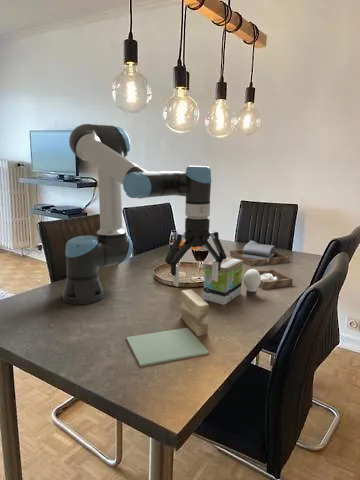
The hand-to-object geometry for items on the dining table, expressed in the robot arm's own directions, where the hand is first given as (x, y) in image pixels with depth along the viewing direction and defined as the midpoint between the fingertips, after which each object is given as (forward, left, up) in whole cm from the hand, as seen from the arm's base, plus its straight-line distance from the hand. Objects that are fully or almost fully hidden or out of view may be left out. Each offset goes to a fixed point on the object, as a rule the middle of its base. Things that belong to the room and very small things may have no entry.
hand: (195, 282), depth 119 cm
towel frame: (+66, +64, -15) cm, 93 cm away
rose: (+48, +29, -15) cm, 58 cm away
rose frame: (+49, +30, -15) cm, 59 cm away
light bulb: (+33, +18, -15) cm, 40 cm away
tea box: (+21, +20, -15) cm, 33 cm away
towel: (+66, +64, -15) cm, 93 cm away
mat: (-13, -10, -15) cm, 22 cm away
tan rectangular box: (0, 0, -15) cm, 15 cm away
